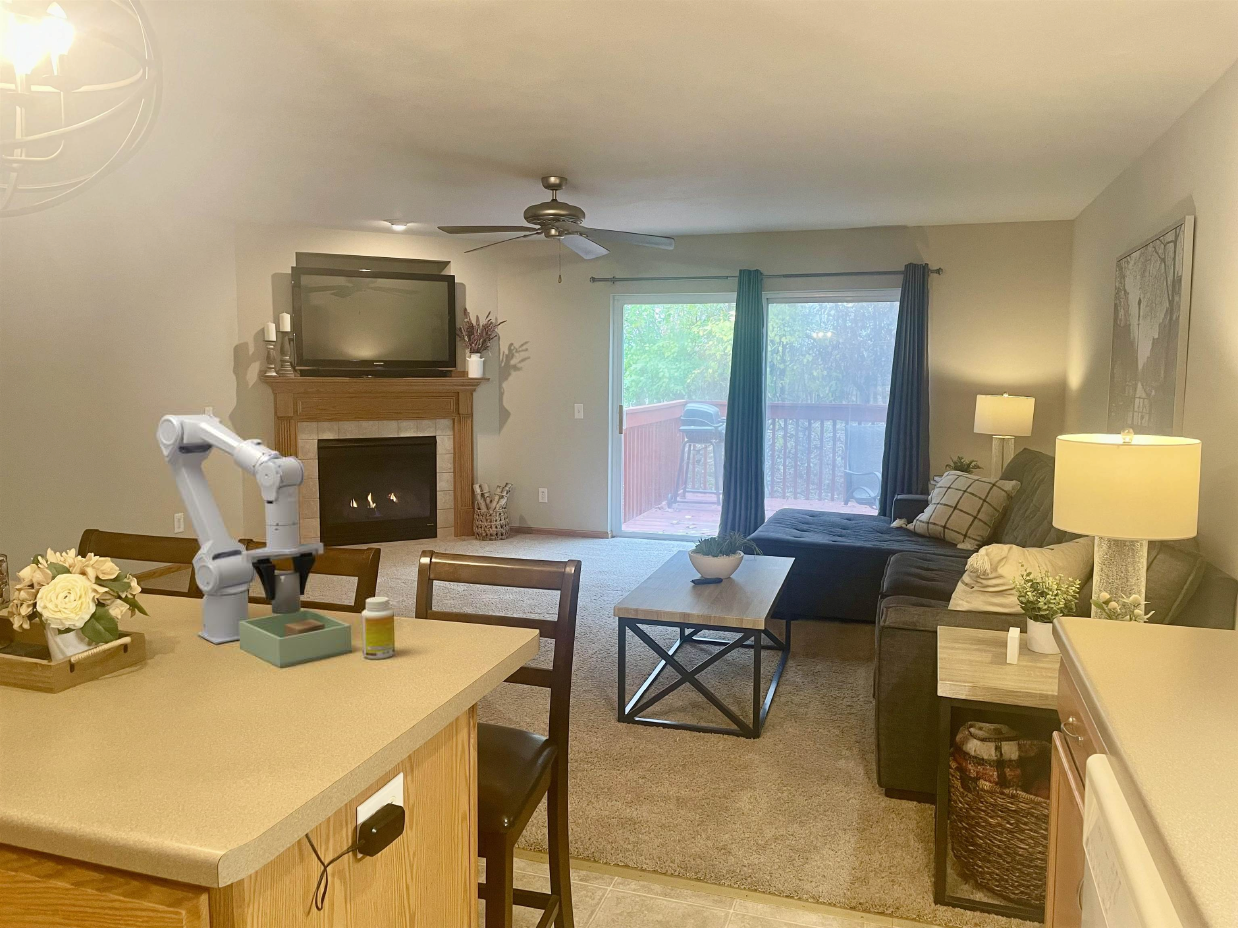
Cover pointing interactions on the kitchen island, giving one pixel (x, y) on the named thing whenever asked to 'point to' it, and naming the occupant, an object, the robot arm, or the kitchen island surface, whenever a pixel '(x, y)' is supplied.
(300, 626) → the cube
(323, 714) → the kitchen island surface
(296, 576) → the cylinder
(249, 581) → the robot arm
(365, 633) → the supplement bottle
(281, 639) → the tote
